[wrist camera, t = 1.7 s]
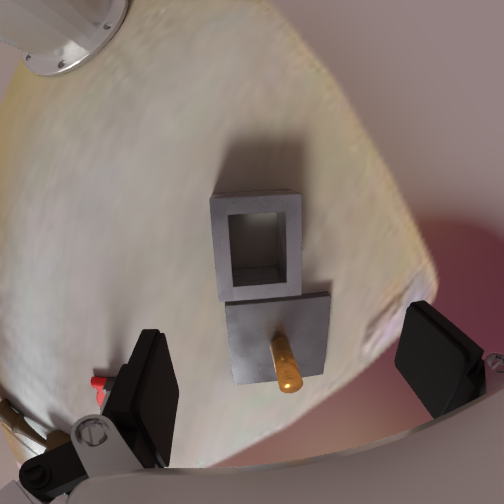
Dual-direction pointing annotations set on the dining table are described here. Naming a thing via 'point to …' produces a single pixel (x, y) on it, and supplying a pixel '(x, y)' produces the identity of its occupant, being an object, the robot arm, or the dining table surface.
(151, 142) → the dining table surface
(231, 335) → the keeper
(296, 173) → the dining table surface
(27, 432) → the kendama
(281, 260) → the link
